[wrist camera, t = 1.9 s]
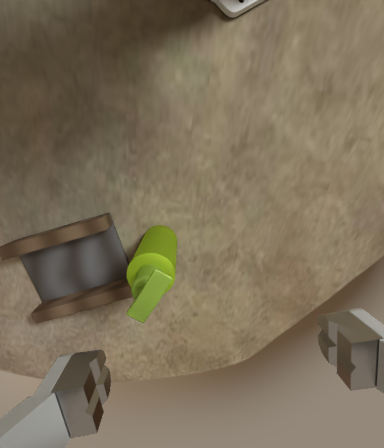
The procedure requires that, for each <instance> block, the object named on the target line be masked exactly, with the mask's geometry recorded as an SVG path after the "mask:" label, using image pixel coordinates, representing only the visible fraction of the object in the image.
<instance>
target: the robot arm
mask: <svg viewBox="0 0 384 448" xmlns="http://www.w3.org/2000/svg"><path fill="white" fill-rule="evenodd" d="M211 1H213V2H214V3H216V5H217V6H218V7H219V8H220V9H221V10H222V11H223V12H224V13H225V14H226V15H227V16H229V17H232V18H234V17H237V16H239V15H240V14H242V13H244V12H246V11H247V10H249V9H251V8H253V7H255V6H256V5H258V4H260V3H262V2H263V1H265V0H243V3H240V2H239V0H211ZM318 325H319V326H320V327H321V329H322V330H321V332H320V333H319V335H318V341H319V346H320V349H321V351H322V353H323V355H324V357H325V358H326V360H327V361H328V362H329V363H330V364H332V365H334V366H336V367H337V374H338V375H339V376H340V378H341V379H342V380H343V382H344V383H345V384H346V385H347V387H348V388H349V389H350V390H351V391H352V390H359V389H366V388H374V387H377V389H378V390H380V391H381V392H383V393H384V325H383V324H382V323H380V322H379V321H378V320H376V319H375V318H374V317H372V316H371V315H370V314H368V313H367V312H366V311H364V310H363V309H360V308H356V309H351V310H346V311H342V312H336V313H330V314H324V315H319V318H318ZM105 361H106V356H105V353H104V351H103V350H95V351H88V352H80V353H75V354H67V355H61V356H60V357H58V358H57V359H56V361H55V363H54V364H53V366H52V367H51V369H50V370H49V372H48V373H47V375H46V376H45V378H44V380H43V381H42V383H41V384H40V386H39V387H38V389H37V390H36V392H35V394H34V395H33V396H30V397H27V398H26V399H25V400H23V401H22V402H21V403H20V404H18V405H17V406H16V407H15V408H13V409H12V410H11V411H9V412H8V413H7V414H6V415H4V416H3V417H2V418H1V419H0V448H65V446H66V445H67V444H68V442H69V441H70V438H75V437H80V436H85V435H90V434H95V433H97V432H98V428H99V425H100V422H101V419H102V415H103V408H102V405H103V404H104V402H105V401H106V400H107V399H108V396H109V392H110V386H111V376H110V371H109V368H107V367H106V366H105V365H104V363H105Z"/></svg>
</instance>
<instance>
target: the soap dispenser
mask: <svg viewBox="0 0 384 448" xmlns="http://www.w3.org/2000/svg"><path fill="white" fill-rule="evenodd" d="M176 252H177V238H176V235H175V233H174V232H173V231H172V230H171V229H170V228H168V227H166V226H162V225H158V226H154V227H152V228H150V229H149V230H148V231H147V232H146V233H145V235H144V237H143V239H142V241H141V243H140V245H139V247H138V249H137V251H136V252H135V254H134V256H133V258H132V260H131V262H130V264H129V266H128V269H127V280H128V283H129V285H130V286H131V292H132V295H133V297H134V298H135V300H134V302H133V303H132V305H131V306H130V308H129V309H128V311H127V314H126V315H128V316H130V317H132V318H134V319H136V320H138V321H140V322H142V323H144V322H145V320H146V319H147V318H148V316H149V315H150V313H151V312H152V311H153V309H154V308H155V306H156V305H157V303H158V302H159V300H160V299H161V297H162V295H163V294H164V293H166V292H167V291H168V290H169V289H170V288H171V287H172V285H173V283H174V280H175V269H176Z"/></svg>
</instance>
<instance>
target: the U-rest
mask: <svg viewBox="0 0 384 448" xmlns="http://www.w3.org/2000/svg"><path fill="white" fill-rule="evenodd" d="M18 255H19V256H20V258H21V260H22V262H23V264H24V266H25V268H26V270H27V272H28V274H29V275H30V277H31V279H32V281H33V283H34V285H35V287H36V289H37V291H38V293H39V295H40V297H41V299H42V301H43V302H42V303H41V304H40V305H39V306H38V307H37V308H36V309H35V310H34V311H33V312H32V313H31V315H32V317H33V319H34V321H35V322H36V324H37V323H40V322H44V321H47V320H51V319H54V318H58V317H62V316H65V315H69V314H72V313H76V312H79V311H83V310H87V309H90V308H94V307H97V306H101V305H104V304H108V303H112V302H115V301H119V300H122V299H126V298H129V297H132V296H133V295H132V292H131V286H130V285H129V283H128V280H127V269H128V266H129V262H128V260H127V257H126V255H125V252H124V249H123V247H122V244H121V242H120V239H119V236H118V234H117V231H116V228H115V226H114V223H113V221H112V218H111V215H110V213H106V214H103V215H99V216H96V217H92V218H89V219H86V220H82V221H79V222H75V223H72V224H68V225H65V226H62V227H58V228H55V229H51V230H48V231H44V232H41V233H38V234H34V235H31V236H27V237H24V238H20V239H17V240H14V241H12V242H10V243H7V244H5V245H3V246H1V247H0V257H1V258H2V260H5V259H8V258H11V257H15V256H18Z"/></svg>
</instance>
